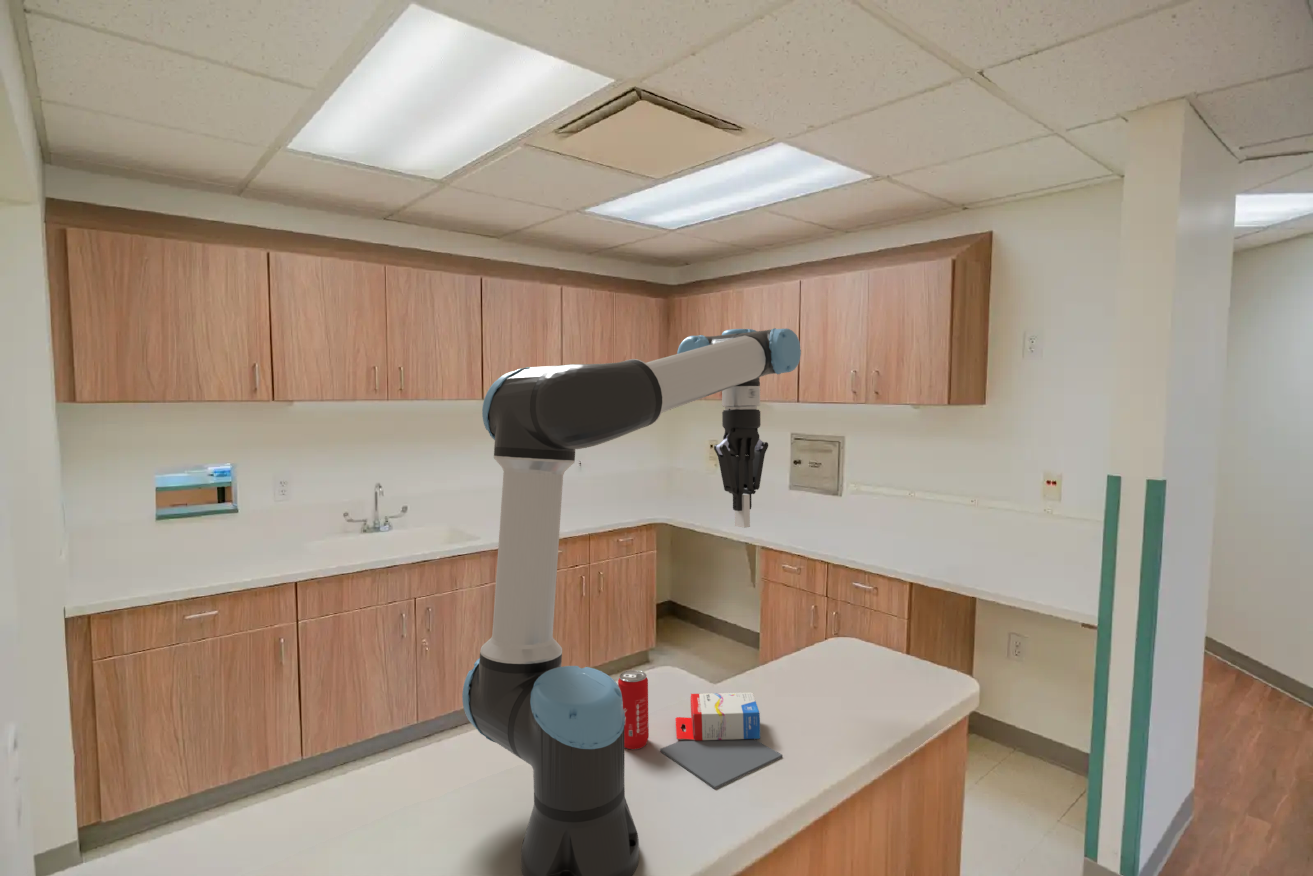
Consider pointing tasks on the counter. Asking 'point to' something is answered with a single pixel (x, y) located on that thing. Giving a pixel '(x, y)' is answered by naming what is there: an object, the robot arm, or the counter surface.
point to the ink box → (720, 717)
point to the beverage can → (635, 708)
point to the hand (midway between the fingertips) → (742, 526)
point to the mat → (720, 758)
